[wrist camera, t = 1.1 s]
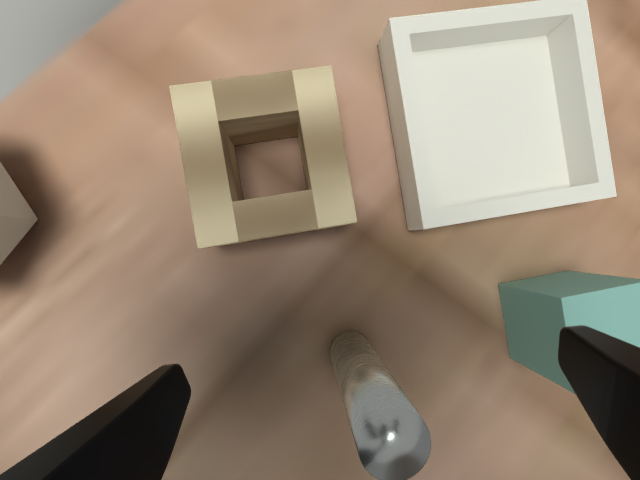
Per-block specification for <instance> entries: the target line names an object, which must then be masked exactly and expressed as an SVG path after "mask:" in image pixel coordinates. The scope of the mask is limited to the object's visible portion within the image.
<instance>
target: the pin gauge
mask: <svg viewBox="0 0 640 480" xmlns="http://www.w3.org/2000/svg"><path fill="white" fill-rule="evenodd" d="M330 357H331V360H332V364H333V367H334V371H335V374H336V378H337V381H338V384H339V388H340V391H341V395H342V398H343V402H344V405H345V409H346V412H347V415H348V419H349V422H350V426H351V429H352V433H353V436H354V440H355V443H356V446H357V450H358V453H359V457H360V460H361V462H362V464H363V466H364V468H365V469H366V470H367V471H368V472H369V473H370V474H371V475H372V476H374V477H375V478H377V479H379V480H407V479H409V478H411V477H413V476H414V475H415V474H417V473H418V472H419V471H420V470H421V469H422V468H423V466H424V465H425V463H426V461H427V459H428V457H429V454H430V450H431V437H430V432H429V430H428V427H427V425H426V424H425V422H424V421H423V419H422V418H421V417H420V415H419V414H418V412H417V411H416V409H415V408H414V407H413V405H412V404H411V402H410V401H409V399H408V398H407V397H406V395H405V394H404V392H403V391H402V389H401V388H400V387H399V385H398V384H397V382H396V381H395V379H394V378H393V377H392V375H391V374H390V372H389V371H388V369H387V368H386V367H385V365H384V364H383V362H382V361H381V359H380V358H379V357H378V355H377V354H376V352H375V351H374V349H373V348H372V347H371V345H370V344H369V342H368V341H367V339H366V338H365V337H364V336H363V335H361V334H360V333H358V332H354V331H347V332H344V333H341V334H340V335H338V336H337V337H336V338H335V339H334V341H333V342H332V344H331V347H330Z"/></svg>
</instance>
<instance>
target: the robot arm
mask: <svg viewBox="0 0 640 480" xmlns="http://www.w3.org/2000/svg"><path fill="white" fill-rule="evenodd" d="M558 362H559V365H560V368H561V370H562V372H563V373H564V375H565V377H566V378H567V380H568V382H569V383H570V385H571V387H572V389H573V390H574V392H575V394H576V395H577V397H578V399H579V400H580V402H581V404H582V406H583V407H584V409H585V411H586V412H587V414H588V416H589V417H590V419H591V421H592V422H593V424H594V426H595V428H596V429H597V431H598V433H599V434H600V436H601V437H602V439H603V441H604V442H605V444H606V445H607V447H608V448H609V449H610V451H611V452H612V454H613V455H614V457H615V458H616V459H617V461H618V462H619V464H620V465H621V466H622V468H623V469H624V471H625V472H626V473H627V475H628V476H629V478H630V479H631V480H640V347H637V346H635V345H632V344H630V343H627V342H625V341H623V340H620V339H618V338H615V337H613V336H610V335H608V334H605V333H603V332H600V331H598V330H595V329H593V328H590V327H588V326H585V325H577V326H566V327H563V328H562V329H561V330H560V334H559V347H558ZM190 396H191V388H190V385H189V383H188V380H187V378H186V376H185V374H184V371H183V369H182V367H181V366H180V365H179V364H168V365H163V366H161V367H159V368H158V369H156V370H155V371H153V372H152V373H150V374H149V375H147V376H146V377H144V378H143V379H141V380H140V381H139V382H137V383H136V384H134V385H133V386H131V387H130V388H128V389H127V390H125V391H124V392H122V393H121V394H119V395H118V396H116V397H115V398H113V399H112V400H110V401H109V402H107V403H106V404H104V405H103V406H101V407H100V408H98V409H97V410H96V411H94V412H93V413H91V414H90V415H88V416H87V417H85V418H84V419H82V420H81V421H79V422H78V423H76V424H75V425H73V426H72V427H70V428H69V429H67V430H66V431H64V432H63V433H61V434H60V435H58V436H57V437H56V438H54V439H53V440H51V441H50V442H48V443H47V444H45V445H44V446H42V447H41V448H39V449H38V450H36V451H35V452H33V453H32V454H30V455H29V456H27V457H26V458H24V459H23V460H21V461H20V462H18V463H17V464H15V465H14V466H13V467H11V468H10V469H8V470H7V471H5V472H4V473H2V474H1V475H0V480H161V479H162V477H163V474H164V472H165V469H166V467H167V465H168V462H169V459H170V457H171V454H172V451H173V448H174V445H175V442H176V439H177V436H178V433H179V430H180V427H181V424H182V421H183V418H184V415H185V412H186V409H187V406H188V403H189V400H190Z"/></svg>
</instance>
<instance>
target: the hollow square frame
mask: <svg viewBox="0 0 640 480" xmlns="http://www.w3.org/2000/svg"><path fill="white" fill-rule="evenodd" d="M169 87H170V93H171V99H172V104H173V110H174V116H175V122H176V127H177V133H178V139H179V144H180V150H181V156H182V162H183V167H184V173H185V179H186V184H187V190H188V196H189V202H190V207H191V213H192V219H193V225H194V230H195V236H196V242H197V247H198V249H199V248H210V247H219V246H225V245H231V244H237V243H243V242H249V241H255V240H261V239H267V238H273V237H279V236H285V235H291V234H297V233H303V232H309V231H315V230H321V229H327V228H333V227H339V226H345V225H348V224H352V223H356V222H357V218H356V212H355V206H354V200H353V194H352V188H351V182H350V176H349V170H348V164H347V158H346V152H345V146H344V140H343V133H342V127H341V121H340V115H339V109H338V103H337V97H336V91H335V85H334V79H333V73H332V67H331V65H330V66H322V67H314V68H306V69H299V70H291V71H283V72H275V73H267V74H259V75H251V76H243V77H236V78H228V79H220V80H212V81H204V82H196V83H188V84H180V85H172V86H169ZM292 137H298V139H299V145H300V151H301V157H302V163H303V169H304V174H305V180H306V186H307V190H304V191H297V192H291V193H285V194H278V195H272V196H266V197H259V198H253V199H246V200H244V199H243V194H242V188H241V182H240V176H239V170H238V164H237V159H236V153H235V147H234V146H236V145H243V144H250V143H257V142H264V141H271V140H278V139H285V138H292Z"/></svg>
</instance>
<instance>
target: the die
mask: <svg viewBox="0 0 640 480" xmlns="http://www.w3.org/2000/svg"><path fill="white" fill-rule="evenodd" d="M37 220H38V218H37V217H36V215H35V214H34V212H33V211H32V209H31V208H30V206H29V205H28V203H27V202H26V200H25V199H24V197H23V196H22V194H21V192H20V191H19V189H18V188H17V186H16V185H15V183H14V182H13V180H12V179H11V177H10V176H9V174H8V173H7V171H6V170H5V168H4V167H3V165H2V164H1V162H0V265H1V264H2V262H3V261H4V260H5V259H6V257H7V256H8V255H9V254H10V253H11V251H12V250H13V249H14V248H15V247H16V245H17V244H18V243H19V242H20V241H21V239H22V238H23V237H24V236H25V235H26V233H27V232H28V231H29V230H30V229H31V227H32V226H33V225H34V224H35V223H36V221H37Z"/></svg>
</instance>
